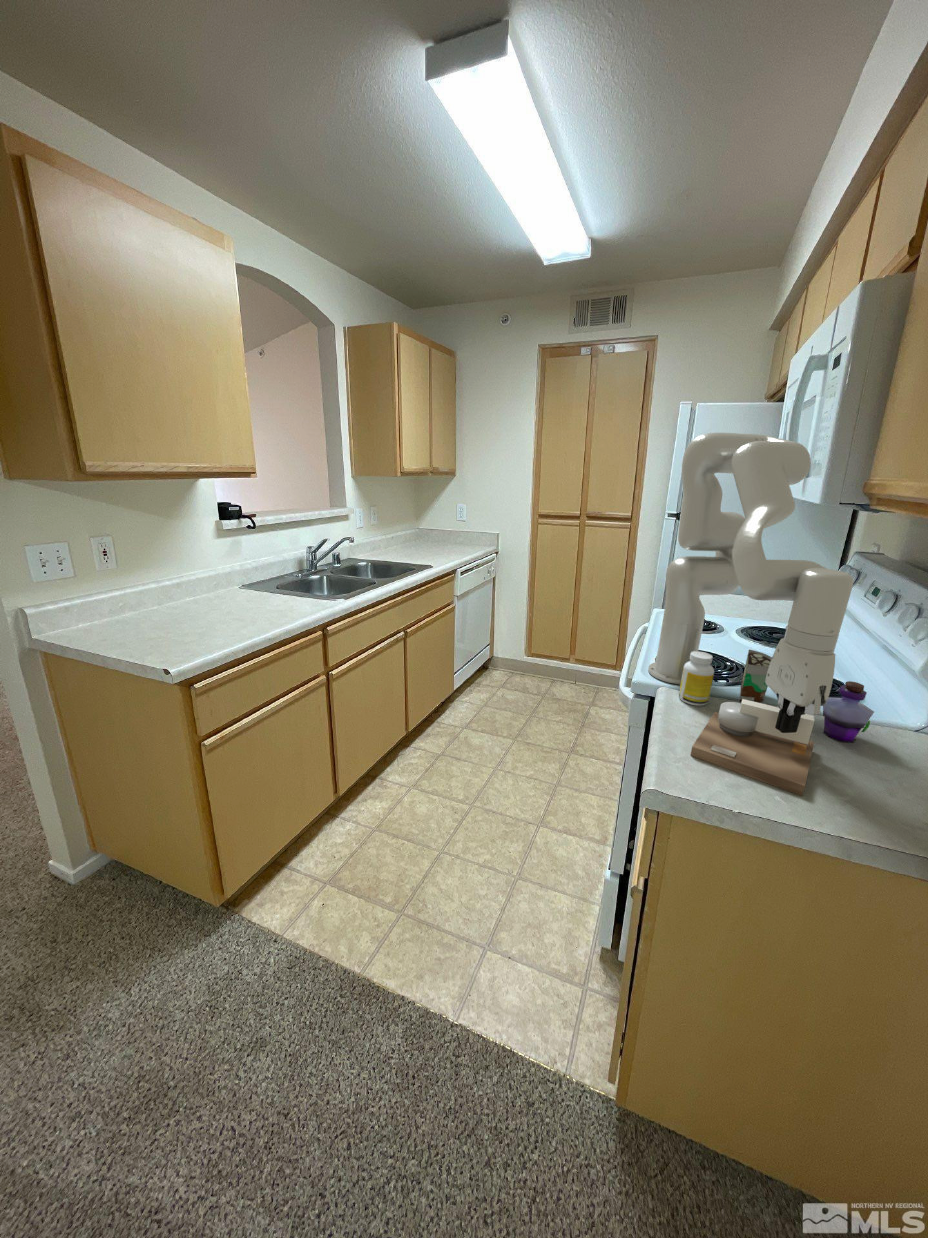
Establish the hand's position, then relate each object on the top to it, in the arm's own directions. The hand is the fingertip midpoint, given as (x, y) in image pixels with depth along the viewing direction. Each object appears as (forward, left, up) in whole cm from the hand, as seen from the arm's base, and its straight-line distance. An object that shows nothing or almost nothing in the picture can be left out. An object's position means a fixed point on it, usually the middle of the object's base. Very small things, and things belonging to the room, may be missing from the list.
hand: (785, 730), depth 92 cm
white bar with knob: (-3, -4, -3) cm, 6 cm away
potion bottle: (-18, +9, -6) cm, 21 cm away
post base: (+2, -4, -6) cm, 8 cm away
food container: (-26, -8, -6) cm, 28 cm away
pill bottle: (-14, -19, -6) cm, 25 cm away
